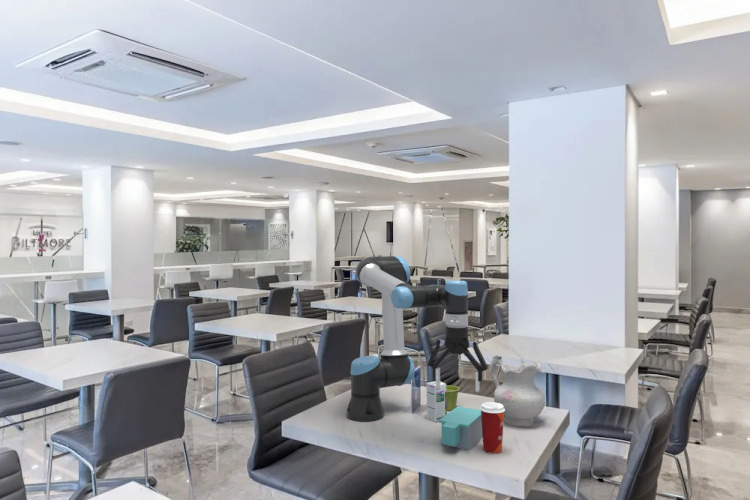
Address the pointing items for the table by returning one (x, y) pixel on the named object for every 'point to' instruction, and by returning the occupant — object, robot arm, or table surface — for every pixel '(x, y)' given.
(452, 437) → the snap lid
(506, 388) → the ceramic pitcher
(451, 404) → the plant pot
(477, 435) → the parts tub
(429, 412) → the syrup box
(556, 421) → the table surface
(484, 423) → the coffee cup
